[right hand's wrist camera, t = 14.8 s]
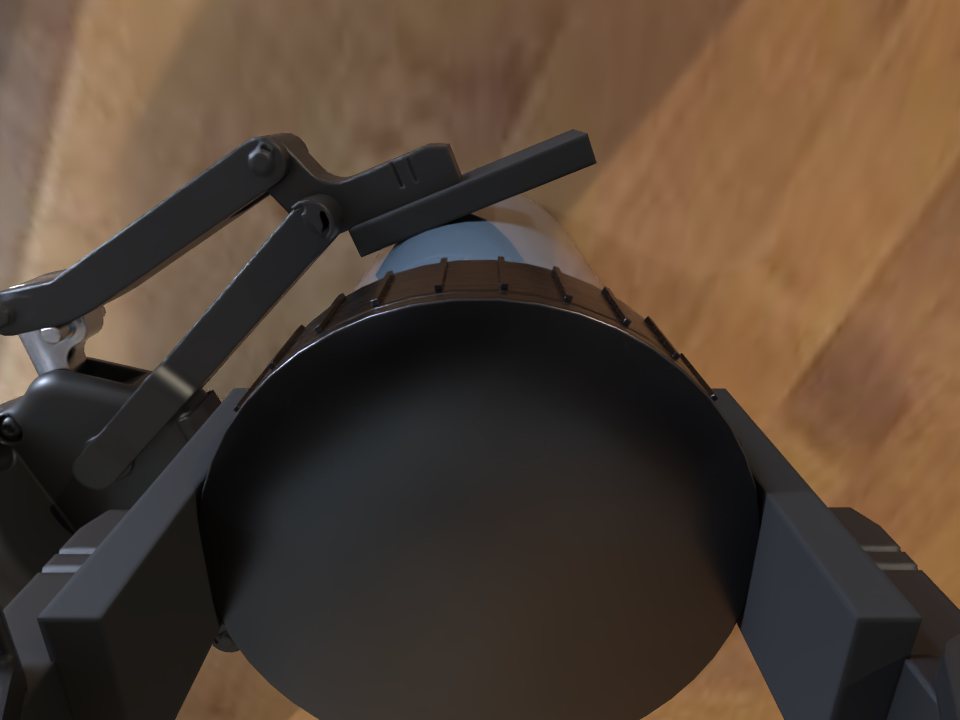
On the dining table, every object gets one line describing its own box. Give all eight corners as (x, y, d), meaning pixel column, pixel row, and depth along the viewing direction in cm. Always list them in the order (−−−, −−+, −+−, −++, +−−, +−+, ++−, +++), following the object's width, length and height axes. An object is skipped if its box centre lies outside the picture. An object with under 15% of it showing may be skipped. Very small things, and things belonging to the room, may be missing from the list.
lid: (156, 507, 13) (88, 592, 11) (448, 138, 10) (439, 147, 8) (500, 722, 15) (504, 830, 13) (812, 461, 12) (886, 539, 10)
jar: (425, 148, 23) (337, 219, 9) (622, 243, 25) (821, 439, 10) (345, 340, 26) (179, 632, 12) (526, 417, 27) (578, 765, 13)
